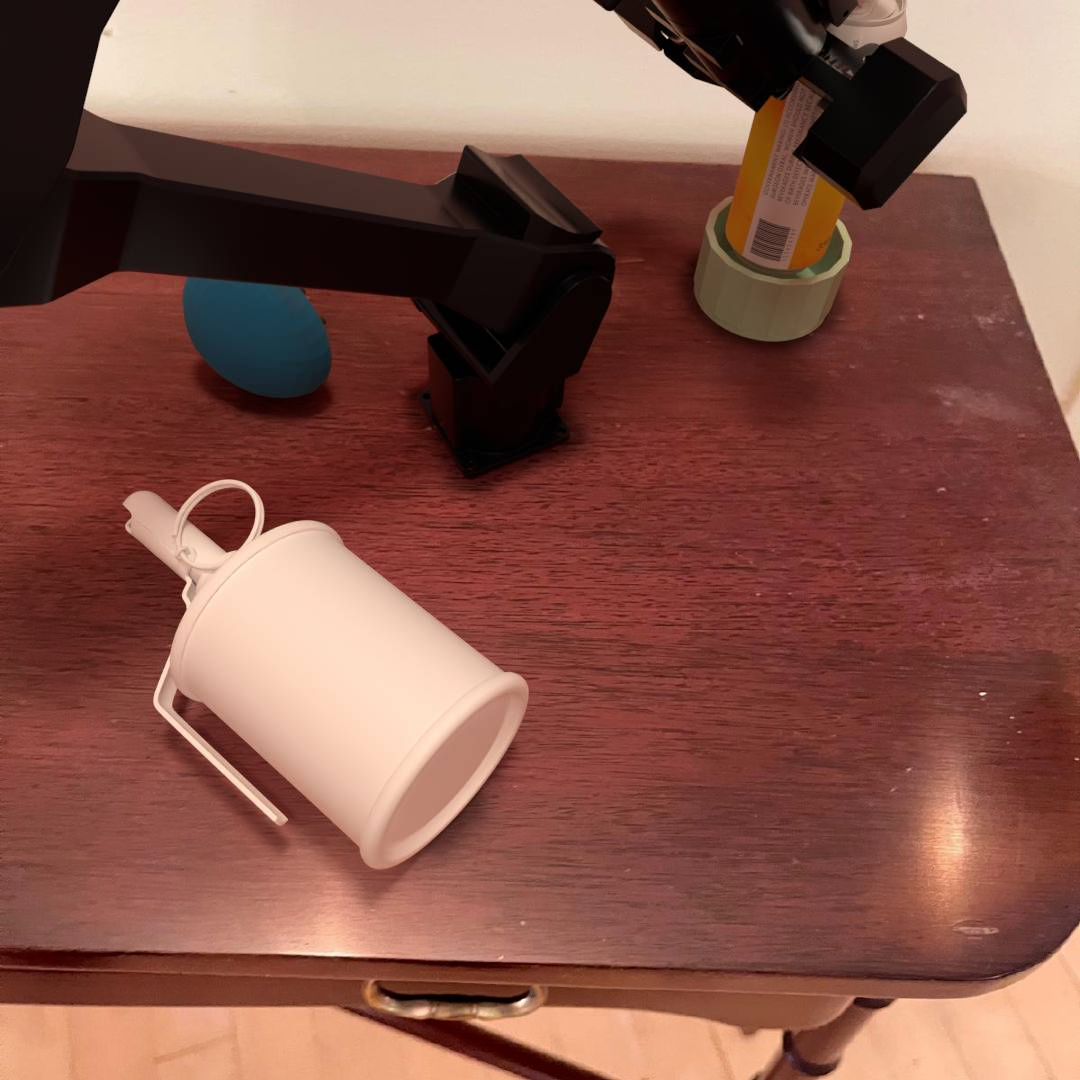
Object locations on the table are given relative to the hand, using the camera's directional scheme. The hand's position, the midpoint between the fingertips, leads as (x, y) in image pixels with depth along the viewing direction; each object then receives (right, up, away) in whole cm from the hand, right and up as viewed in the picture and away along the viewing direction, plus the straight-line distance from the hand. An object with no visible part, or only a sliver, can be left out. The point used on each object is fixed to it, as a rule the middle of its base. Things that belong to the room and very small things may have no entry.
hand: (826, 126), depth 55 cm
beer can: (-2, -5, +6) cm, 8 cm away
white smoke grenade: (-19, -32, -15) cm, 41 cm away
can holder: (-2, -7, +9) cm, 11 cm away
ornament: (-31, -14, +3) cm, 34 cm away
